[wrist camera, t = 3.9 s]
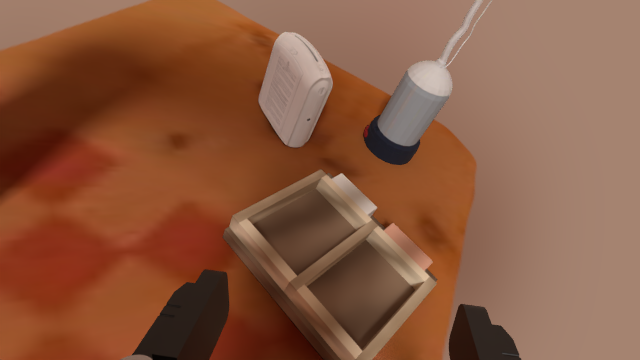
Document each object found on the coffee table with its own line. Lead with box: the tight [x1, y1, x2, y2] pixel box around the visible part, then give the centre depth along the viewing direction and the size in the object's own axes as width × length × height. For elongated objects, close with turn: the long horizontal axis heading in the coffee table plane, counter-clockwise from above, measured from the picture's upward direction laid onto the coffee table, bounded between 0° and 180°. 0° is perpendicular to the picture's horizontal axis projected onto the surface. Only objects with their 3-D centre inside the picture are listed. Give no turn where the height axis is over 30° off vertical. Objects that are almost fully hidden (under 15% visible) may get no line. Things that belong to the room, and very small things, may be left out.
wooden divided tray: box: [223, 169, 437, 360], centre depth 40 cm, size 18×16×4 cm
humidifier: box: [364, 0, 492, 165], centre depth 51 cm, size 8×8×25 cm
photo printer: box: [258, 32, 333, 147], centre depth 50 cm, size 10×4×12 cm, turn 31°
